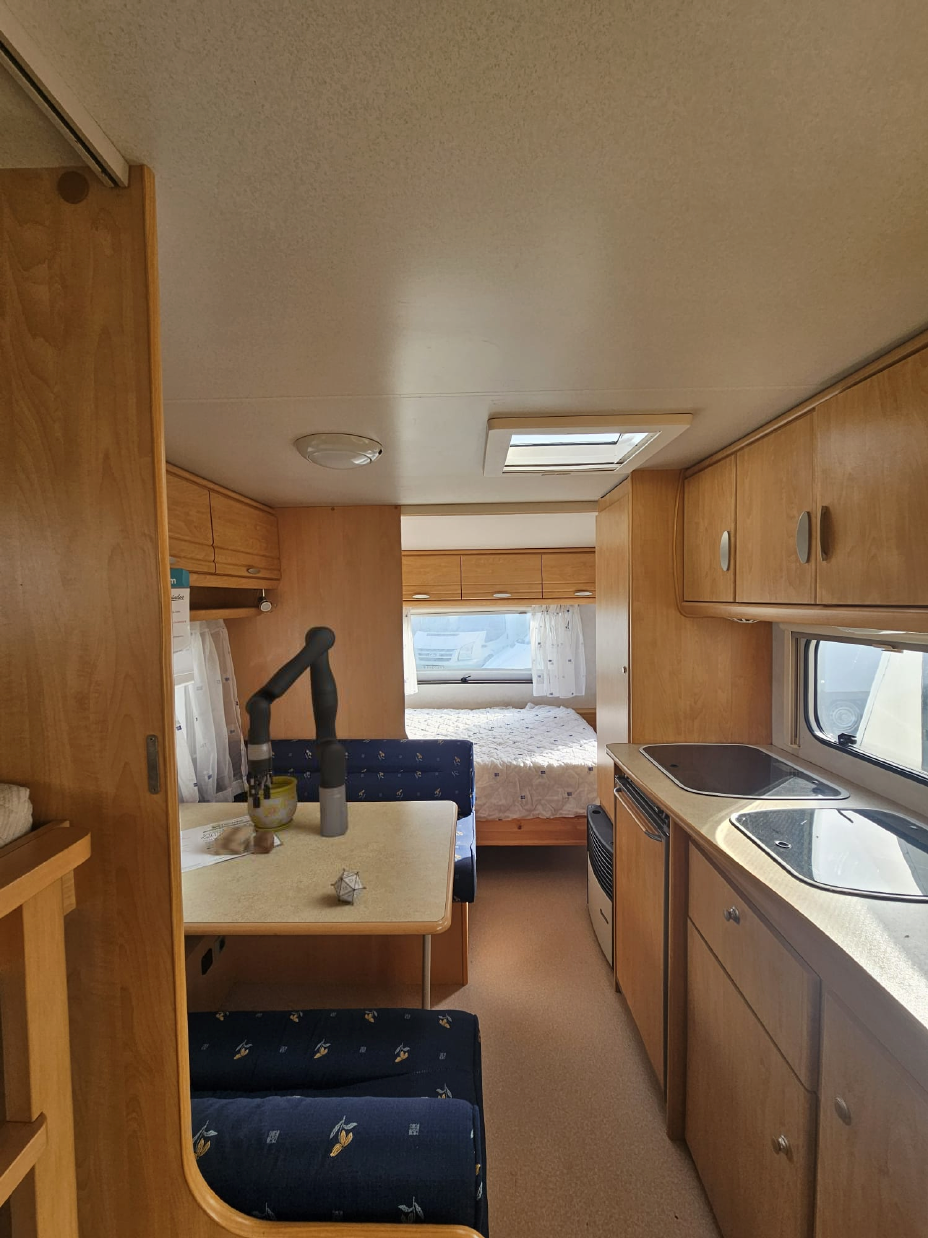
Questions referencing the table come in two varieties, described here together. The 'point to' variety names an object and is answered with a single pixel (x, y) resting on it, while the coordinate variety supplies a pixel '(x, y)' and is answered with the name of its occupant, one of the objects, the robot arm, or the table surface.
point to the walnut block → (263, 842)
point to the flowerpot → (275, 806)
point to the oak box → (234, 841)
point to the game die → (348, 886)
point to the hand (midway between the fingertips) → (262, 803)
